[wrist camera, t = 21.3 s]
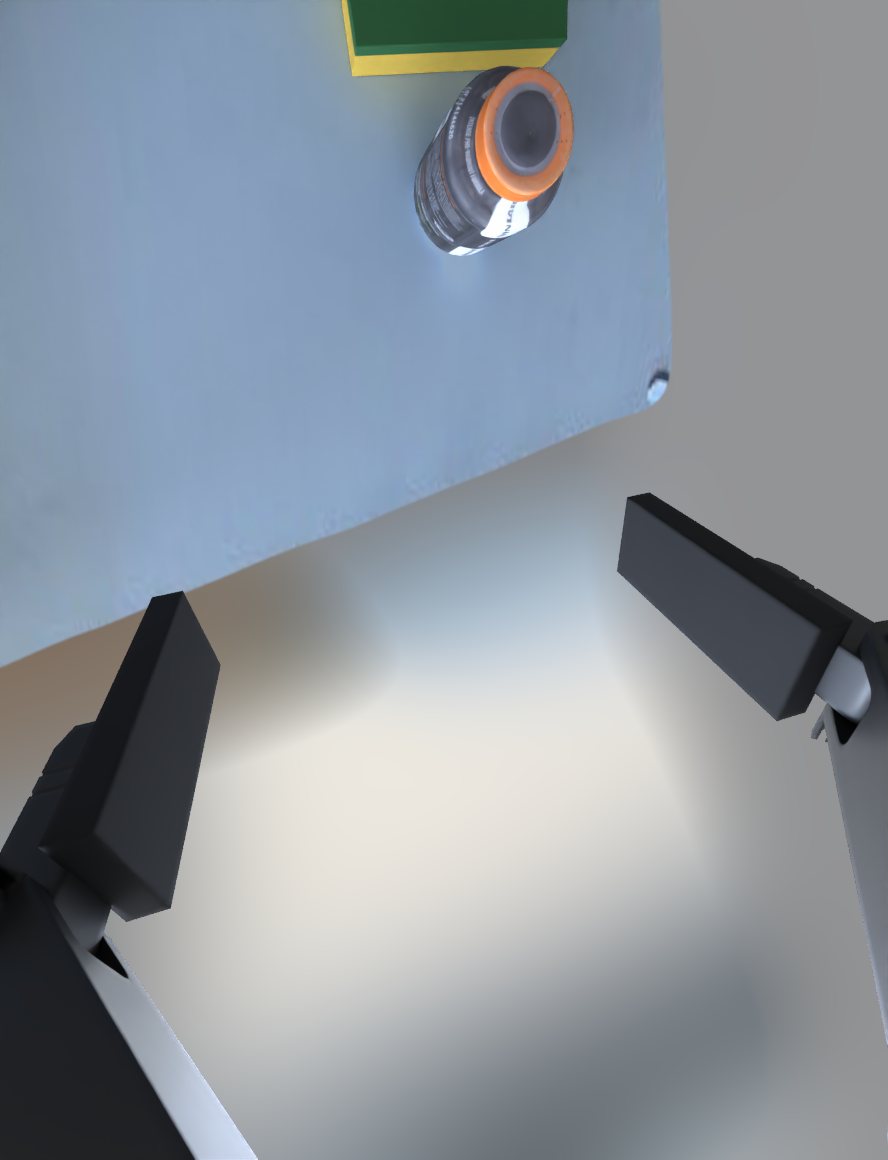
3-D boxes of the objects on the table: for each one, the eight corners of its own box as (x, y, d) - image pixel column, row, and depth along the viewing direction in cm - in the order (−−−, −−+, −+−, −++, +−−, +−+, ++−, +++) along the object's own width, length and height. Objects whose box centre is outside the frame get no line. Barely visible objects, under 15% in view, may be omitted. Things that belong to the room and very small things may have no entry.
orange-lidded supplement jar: (490, 269, 31) (568, 243, 21) (403, 239, 29) (444, 196, 19) (517, 155, 28) (619, 67, 19) (424, 115, 27) (483, -5, 17)
